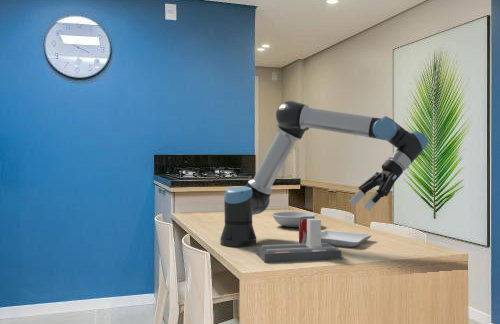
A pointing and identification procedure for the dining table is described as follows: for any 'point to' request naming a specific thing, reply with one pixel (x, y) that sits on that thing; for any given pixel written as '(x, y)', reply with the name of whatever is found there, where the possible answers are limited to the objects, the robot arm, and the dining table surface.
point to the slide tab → (313, 233)
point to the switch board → (297, 252)
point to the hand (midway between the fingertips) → (358, 206)
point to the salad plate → (343, 238)
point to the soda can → (303, 229)
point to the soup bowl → (290, 217)
